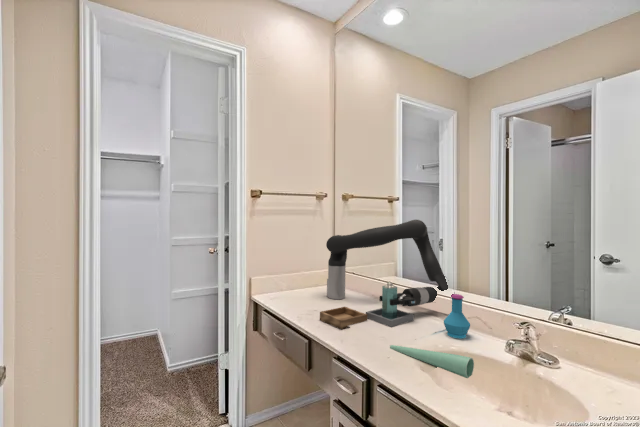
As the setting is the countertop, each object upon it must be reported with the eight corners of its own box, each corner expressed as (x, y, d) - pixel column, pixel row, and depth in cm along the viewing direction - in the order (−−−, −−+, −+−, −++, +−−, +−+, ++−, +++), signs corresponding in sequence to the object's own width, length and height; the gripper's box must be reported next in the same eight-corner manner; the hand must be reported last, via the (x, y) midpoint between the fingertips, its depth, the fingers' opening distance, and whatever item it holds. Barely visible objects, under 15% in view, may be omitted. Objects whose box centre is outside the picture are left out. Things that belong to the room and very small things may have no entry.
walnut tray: (319, 320, 140) (319, 311, 140) (344, 314, 148) (344, 306, 148) (341, 329, 129) (341, 320, 129) (367, 322, 137) (367, 314, 137)
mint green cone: (394, 330, 114) (474, 355, 95) (394, 346, 114) (474, 374, 95) (385, 334, 111) (466, 361, 91) (385, 350, 111) (466, 381, 91)
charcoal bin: (365, 320, 141) (365, 311, 141) (387, 314, 149) (387, 306, 149) (391, 329, 130) (391, 320, 130) (413, 322, 138) (413, 314, 138)
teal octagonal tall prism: (379, 318, 140) (379, 281, 140) (388, 316, 144) (389, 280, 143) (390, 322, 135) (390, 284, 135) (399, 319, 139) (400, 282, 139)
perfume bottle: (465, 331, 129) (465, 292, 129) (473, 340, 120) (474, 298, 120) (440, 330, 130) (441, 291, 130) (447, 339, 121) (447, 297, 121)
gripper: (404, 284, 152) (374, 288, 145) (427, 291, 139) (396, 295, 132) (404, 301, 152) (374, 305, 145) (427, 309, 139) (396, 314, 132)
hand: (385, 300), depth 138 cm, fingers closed on teal octagonal tall prism, 6 cm apart
